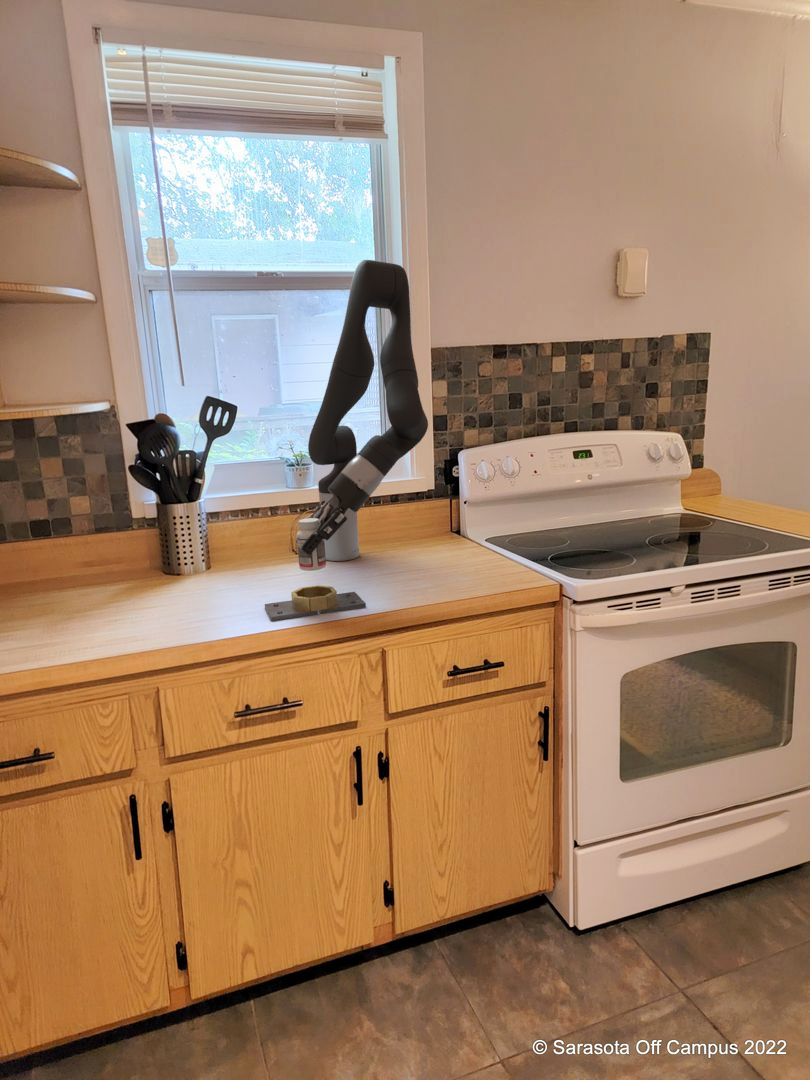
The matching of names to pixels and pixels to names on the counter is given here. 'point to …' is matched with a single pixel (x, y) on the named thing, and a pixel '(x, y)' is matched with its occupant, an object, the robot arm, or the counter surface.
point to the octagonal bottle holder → (313, 603)
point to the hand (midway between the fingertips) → (302, 548)
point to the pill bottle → (318, 555)
